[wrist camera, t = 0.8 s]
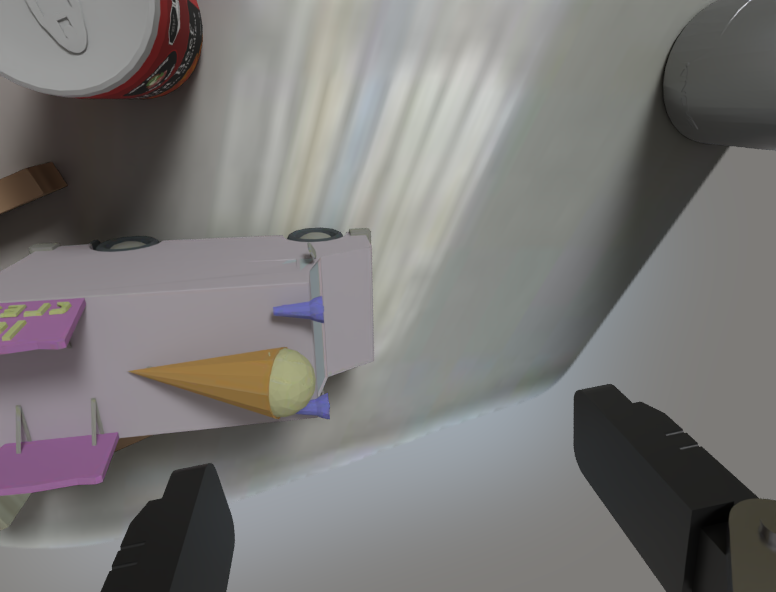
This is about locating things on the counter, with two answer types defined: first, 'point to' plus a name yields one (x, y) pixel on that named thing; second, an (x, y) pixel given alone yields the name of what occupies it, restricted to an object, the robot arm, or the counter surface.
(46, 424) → the toy vehicle
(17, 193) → the wooden rails pair
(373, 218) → the counter surface
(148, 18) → the canned food
